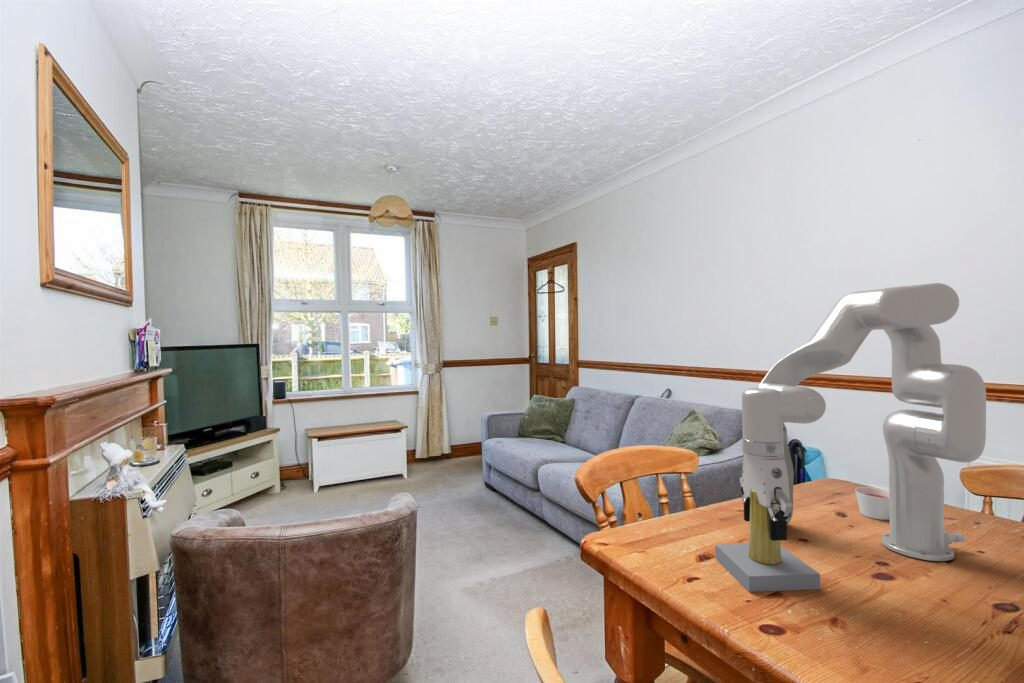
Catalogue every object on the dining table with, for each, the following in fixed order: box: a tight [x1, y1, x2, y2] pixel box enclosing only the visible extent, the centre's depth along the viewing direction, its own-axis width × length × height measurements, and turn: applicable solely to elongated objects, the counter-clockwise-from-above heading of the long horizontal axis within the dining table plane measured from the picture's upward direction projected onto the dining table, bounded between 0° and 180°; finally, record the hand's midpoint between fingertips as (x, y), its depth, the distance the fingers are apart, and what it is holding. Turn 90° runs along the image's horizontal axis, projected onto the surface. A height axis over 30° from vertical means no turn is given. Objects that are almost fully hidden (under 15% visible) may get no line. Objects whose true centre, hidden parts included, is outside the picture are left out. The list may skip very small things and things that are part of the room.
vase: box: [748, 489, 782, 565], centre depth 98 cm, size 6×6×14 cm
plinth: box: [714, 543, 821, 593], centre depth 98 cm, size 14×14×3 cm
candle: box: [854, 486, 890, 521], centre depth 128 cm, size 9×9×6 cm
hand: (764, 529), depth 98 cm, fingers open, 9 cm apart
